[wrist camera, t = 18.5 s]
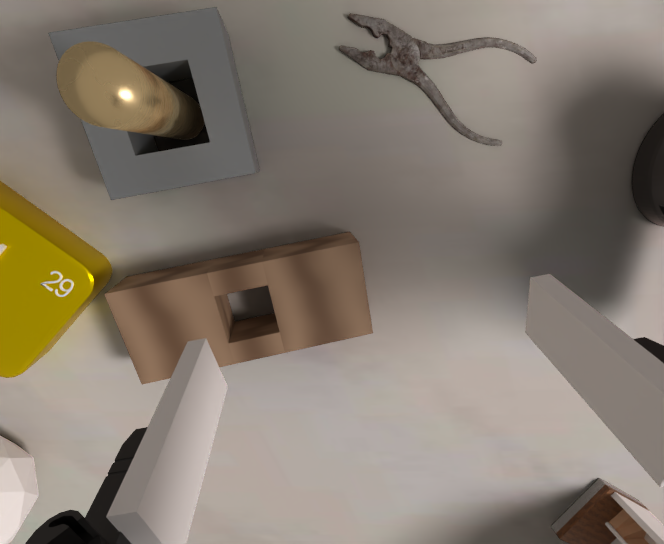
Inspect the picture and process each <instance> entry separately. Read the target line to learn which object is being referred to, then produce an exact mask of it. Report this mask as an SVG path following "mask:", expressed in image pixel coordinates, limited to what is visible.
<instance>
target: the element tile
mask: <svg viewBox="0 0 664 544" xmlns="http://www.w3.org/2000/svg"><path fill="white" fill-rule="evenodd" d="M111 274H112V267H111V264H110V262H109V261H108V259H107V258H106V257H105V256H104V255H103V254H102V253H100V252H99V251H97V250H96V249H95V248H93V247H92V246H90V245H89V244H88V243H86V242H85V241H83V240H82V239H81V238H79V237H78V236H76V235H75V234H74V233H72V232H71V231H70V230H68V229H67V228H65V227H64V226H63V225H61V224H60V223H58V222H57V221H56V220H54V219H53V218H51V217H50V216H49V215H47V214H46V213H44V212H43V211H42V210H40V209H39V208H37V207H36V206H35V205H33V204H32V203H30V202H29V201H28V200H26V199H25V198H23V197H22V196H21V195H19V194H18V193H17V192H15V191H14V190H12V189H11V188H10V187H8V186H7V185H5V184H4V183H3V182H1V181H0V377H5V378H9V377H15V376H18V375H20V374H22V373H23V372H25V371H26V370H27V369H28V368H30V367H31V366H32V365H33V364H34V363H35V362H37V361H38V360H39V359H40V358H41V357H43V356H44V355H45V354H46V353H47V352H48V351H49V350H50V349H51V348H52V347H53V346H54V345H55V343H56V342H57V341H58V340H59V339H60V338H61V336H62V335H63V334H64V333H65V332H66V331H67V329H68V328H69V327H70V326H71V325H72V324H73V322H74V321H75V320H76V319H77V318H78V317H79V315H80V314H81V313H82V312H83V311H84V310H85V308H86V307H87V306H88V305H89V304H90V303H91V302H92V300H93V299H94V298H95V297H96V296H97V295H98V293H99V292H100V291H101V290H102V289H103V288H104V286H105V285H106V284H107V283H108V282H109V280H110V278H111Z"/></svg>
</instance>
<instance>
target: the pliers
mask: <svg viewBox="0 0 664 544" xmlns="http://www.w3.org/2000/svg"><path fill="white" fill-rule="evenodd" d="M348 18H349V19H350V20H351V21H353V22H354V23H356V24H357V25H359V26H360V27H361V28H362V27H363V28H366V27H367V28H368V29H369V30H370V31H371V32H372V33H373V36H374V37H376V38H378V37H379V36H380V35H384V36H386V37H387V38H388V40H389V45H388V47H390V48H391V52H390V53H387V54H386V55H385V57H384V58H383V59H378V58H377V57H375V53H374V51H371V50H370V51H368V52H360V51H359V50H358V49H356V48H352V47H346V46H340V47H339V50H340V51H341V52H343V53H344V54H346V55H347V56H349V57H350V58H351V59H353V60H354V61H356V62H357V63H358V64H360V65H361V66H363V67H364V68H366V69H367V70H370V71H375V72H381V73H386V74H391V75H397V76H401V77H403V78H405V79H407V80H409V81H410V82H413V83H414V84H416V85H417V86H419V87H420V88H421V89H422V90H423V91H424V92H425V93H426V94H427V95H428V97H429V98H430V99H431V100H432V101H433V103H434V104H435V105H436V107H437V108H438V109H439V111H440V112H441V113H442V115H443V116H444V117H445V119H446V120H447V121H448V122H449V123H450V124H451V125H452V127H453V128H454V129H456V130H457V131H458V132H459V133H461V134H462V135H464V136H466V137H468V138H469V139H472V140H474V141H476V142H479V143H483V144H486V145H493V146H500V145H502V141H501V140H496V139H490V138H486V137H483V136H480V135H478V134H476V133H474V132H472V131H471V130H469V129H468V128H466V127H465V126H464V125H463V124H462V123H461V122H460V121H459V120H458V119H457V117H456V116H455V115H454V113H453V112H452V110H451V109H450V108H449V106H448V104H447V103H446V101H445V100H444V98H443V97H442V95H441V93H440V92H439V90H438V89H437V87H436V86H435V84H434V83H433V82H432V81H431V80H430V79H429V77H428V76H427V75H426V74H425V73H424V72H423V71H422V70H421V69H420V67H419V66H418V63H419V60H420V59H437V58H445V57H449V56H453V55H456V54H459V53H463V52H467V51H470V50H475V49H479V48H485V47H497V48H502V49H506V50H509V51H512V52H515V53H516V54H518V55H520V56H522V57H523V58H525V59H526V60H527V61H529V62H530V63H535V62H536V61H537V59H536V57H535V56H534V55H533V54H532V53H530V52H529V51H528V50H526V49H525V48H523V47H521V46H519V45H518V44H515V43H513V42H510V41H507V40H503V39H499V38H489V37H488V38H478V39H472V40H467V41H462V42H456V43H451V44H443V45H433V44H428V43H426V42H425V41H421V40H418V39H414V38H412V37H411V36H410V35H408V34H407V33H405V32H404V31H402V30H400V29H399V28H397V27H396V26H394V25H392V24H391V23H389V22H387V21H386V20H384V19H379V18H373V17H368V16H363V15H357V14H352V13H350V14H349V16H348ZM411 38H412V39H411Z"/></svg>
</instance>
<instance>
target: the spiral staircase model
mask: <svg viewBox="0 0 664 544" xmlns="http://www.w3.org/2000/svg"><path fill="white" fill-rule="evenodd" d="M551 527H552V529H553V530H554V532H555V533H556V534H557V536H558V537H559V539H561V540H563V541H565V542H567V543H570V544H664V524H662V523H661V522H660V521H659V520H658V519H657V518H656V517H655V516H654V515H653V514H652V513H651V512H650V511H649V510H648V509H647V508H646V507H645V506H644V505H643V504H642V503H641V502H640V501H639V500H637V499H636V498H634V497H632V496H630V495H629V494H627V493H625V492H623V491H621V490H620V489H618V488H616V487H614V486H613V485H611V484H609V483H607V482H606V481H604V480H602V479H600V478H599V479H598V480H597V481H596V482H595V483H594V484H593V485H592V486H591V487H590V488H589V489H588V490H587V491H586V492H585V493H584V494H583V495H582V496H581V497H580V498H579V499H578V500H577V501H576V502H575V503H574V504H573V505H572V506H571V507H570V508H569V509H568V510H567V511H566V512H565V513H564V514H563V515H562V516H561V517H560V518H559V519H558V520H557V521H556V522H555V523H554V524H553V525H552V526H551Z"/></svg>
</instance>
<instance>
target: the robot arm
mask: <svg viewBox="0 0 664 544" xmlns="http://www.w3.org/2000/svg"><path fill="white" fill-rule="evenodd" d="M632 185H633V194H634V198H635V201H636V204H637V206H638V208H639V210H640V211H641V213H642V214H643V215H644V216H645V217H646V218H647V219H648V220H650V221H651V222H653V223H655V224H657V225H660V226H664V114H663V115H662V116H661V117H660V119H659V120H658V121H657V122H656V123H655V124H654V126H653V127H652V128H651V130H650V131H649V133H648V134H647V136H646V138H645V139H644V141H643V143H642V145H641V147H640V150H639V152H638V155H637V158H636V161H635V165H634V170H633V179H632ZM525 333H526V334H527V335H528V336H529V337H530V338H531V340H532V341H533V342H534V343H535V344H536V345H537V347H538V348H539V349H540V350H541V351H542V352H543V353H544V355H545V356H546V357H547V358H548V359H549V360H550V361H551V363H552V364H553V365H554V366H555V367H556V368H557V369H558V371H559V372H560V373H561V374H562V375H563V376H564V378H565V379H566V380H567V381H568V382H569V383H570V384H571V386H572V387H573V388H574V389H575V390H576V391H577V392H578V394H579V395H580V396H581V397H582V398H583V399H584V400H585V402H586V403H587V404H588V405H589V406H590V407H591V409H592V410H593V411H594V412H595V413H596V414H597V415H598V417H599V418H600V419H601V420H602V421H603V422H604V423H605V425H606V426H607V427H608V428H609V429H610V430H611V431H612V433H613V434H614V435H615V436H616V437H617V438H618V440H619V441H620V442H621V443H622V444H623V445H624V446H625V448H626V449H627V450H628V451H629V452H630V453H631V454H632V456H633V457H634V458H635V459H636V460H637V461H638V462H639V464H640V465H641V466H642V467H643V468H644V469H645V471H646V472H647V473H648V474H649V475H650V476H651V477H652V479H653V480H654V481H655V482H656V483H657V484H658V485H659V487H663V486H664V346H663V345H661V344H659V343H656V342H654V341H652V340H650V339H647V338H645V337H643V338H637V339H632V338H631V337H630V336H628V335H627V334H626V333H625V332H623V331H622V330H621V329H619V328H618V327H617V326H616V325H614V324H613V323H612V322H611V321H609V320H608V319H607V318H606V317H604V316H603V315H602V314H600V313H599V312H598V311H597V310H595V309H594V308H593V307H592V306H590V305H589V304H588V303H586V302H585V301H584V300H583V299H581V298H580V297H579V296H578V295H576V294H575V293H574V292H573V291H571V290H570V289H569V288H567V287H566V286H565V285H564V284H562V283H561V282H560V281H559V280H557V279H556V278H555V277H553V276H552V275H551V274H546V275H541V276H535V277H530V287H529V298H528V309H527V320H526V331H525ZM227 388H228V386H227V384H226V382H225V379H224V377H223V375H222V373H221V370H220V368H219V366H218V364H217V361H216V359H215V357H214V355H213V352H212V350H211V348H210V346H209V343H208V341H207V339H206V338H204V339H198V340H193V341H188V342H187V344H186V346H185V349H184V351H183V353H182V355H181V357H180V359H179V361H178V364H177V366H176V368H175V370H174V372H173V374H172V376H171V379H170V381H169V383H168V385H167V387H166V389H165V391H164V394H163V396H162V398H161V400H160V402H159V404H158V406H157V409H156V411H155V413H154V415H153V417H152V419H151V421H150V424H149V426H148V427H146V428H141V429H136V430H135V431H134V432H133V433H132V434H131V435H130V437H129V438H128V439H127V440H126V441H125V442H124V443H123V445H122V447H121V449H120V451H119V453H118V455H117V456H116V458H115V463H113V464H112V466H111V468H110V470H109V472H108V476H107V477H106V478H105V480H104V482H103V484H102V486H101V488H100V490H99V492H98V493H97V495H96V497H95V499H94V501H93V503H92V505H91V507H90V509H89V511H88V513H87V515H86V517H85V518H84V517H83V516H82V515H81V514H80V513H79V512H78V511H74V510H68V511H65V512H61V513H59V514H57V515H55V516H54V517H52V518H50V519H48V520H47V521H46V522H45V523H44V524H43V525H41V526H40V527H39V528H38V529H37V530H36V531H35V532H34V533H33V535H32V536H31V537H30V538H29V539H28V541H27V542H26V544H186V542H187V539H188V535H189V531H190V527H191V524H192V520H193V516H194V512H195V508H196V505H197V501H198V497H199V493H200V490H201V486H202V482H203V478H204V475H205V471H206V467H207V463H208V459H209V456H210V452H211V448H212V444H213V441H214V437H215V433H216V429H217V425H218V422H219V418H220V414H221V410H222V407H223V403H224V399H225V395H226V391H227Z"/></svg>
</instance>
